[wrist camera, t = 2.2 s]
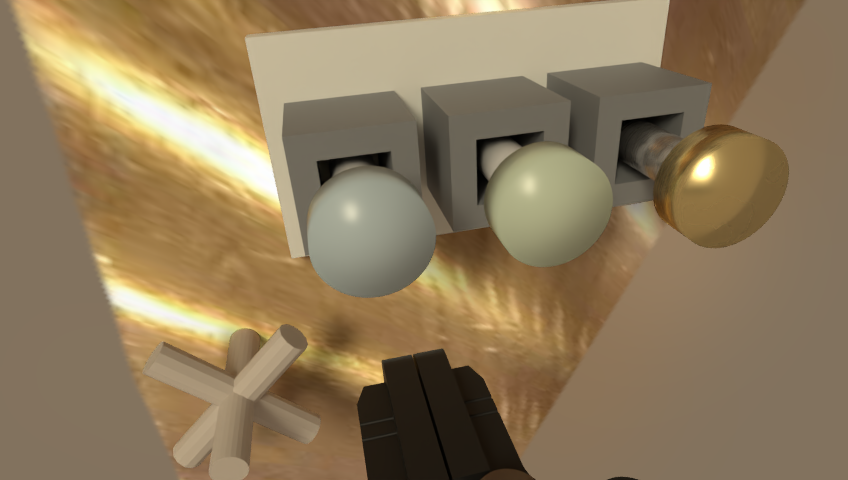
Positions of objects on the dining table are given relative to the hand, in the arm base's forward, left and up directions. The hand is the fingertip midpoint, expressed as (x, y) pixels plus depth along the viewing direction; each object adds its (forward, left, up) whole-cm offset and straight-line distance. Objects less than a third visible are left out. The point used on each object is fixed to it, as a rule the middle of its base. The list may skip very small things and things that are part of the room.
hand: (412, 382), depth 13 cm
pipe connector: (+12, -8, -20) cm, 24 cm away
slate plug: (0, 0, -16) cm, 16 cm away
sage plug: (0, +7, -15) cm, 17 cm away
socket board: (0, +7, -19) cm, 21 cm away
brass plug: (0, +14, -15) cm, 20 cm away
